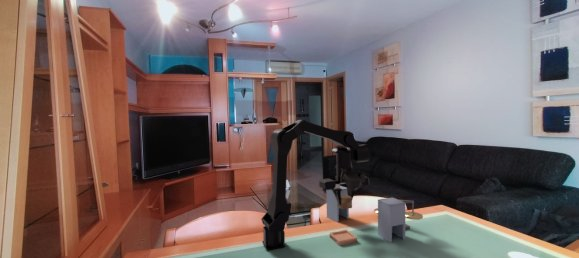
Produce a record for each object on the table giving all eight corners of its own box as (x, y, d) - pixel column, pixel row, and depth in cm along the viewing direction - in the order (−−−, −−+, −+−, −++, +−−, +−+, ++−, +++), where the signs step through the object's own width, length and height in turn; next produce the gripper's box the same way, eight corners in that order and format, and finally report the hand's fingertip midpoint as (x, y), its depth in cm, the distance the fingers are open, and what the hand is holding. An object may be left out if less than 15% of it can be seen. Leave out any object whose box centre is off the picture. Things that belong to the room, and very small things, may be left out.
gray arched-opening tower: (389, 242, 94) (389, 205, 93) (378, 234, 100) (377, 199, 99) (405, 239, 96) (405, 202, 95) (392, 231, 102) (392, 197, 101)
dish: (339, 245, 92) (339, 241, 92) (329, 236, 99) (329, 232, 99) (357, 242, 95) (357, 237, 95) (346, 233, 101) (346, 229, 101)
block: (342, 209, 103) (342, 198, 102) (337, 205, 106) (337, 195, 106) (352, 207, 104) (351, 197, 104) (346, 204, 108) (346, 194, 107)
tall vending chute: (337, 222, 112) (337, 190, 112) (326, 217, 118) (326, 187, 117) (348, 218, 116) (348, 188, 115) (337, 213, 121) (337, 184, 121)
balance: (412, 240, 95) (412, 204, 94) (370, 216, 117) (370, 187, 117) (426, 237, 97) (427, 202, 96) (383, 214, 120) (383, 186, 119)
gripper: (332, 170, 94) (332, 214, 94) (378, 165, 100) (378, 207, 100) (318, 164, 104) (319, 204, 105) (360, 160, 110) (361, 198, 111)
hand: (344, 204), depth 105 cm, fingers closed on block, 4 cm apart
